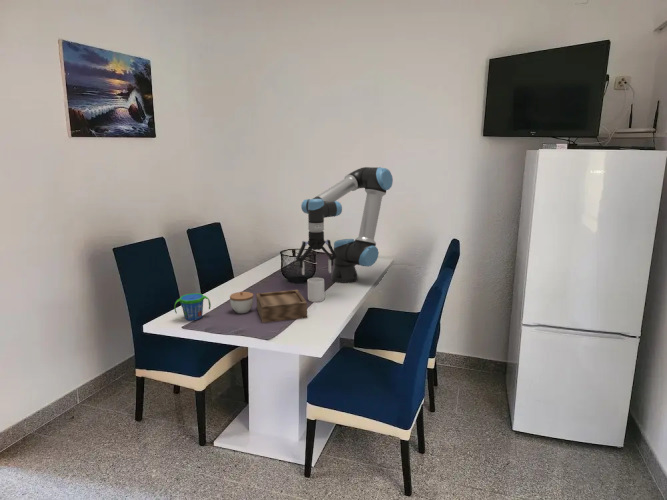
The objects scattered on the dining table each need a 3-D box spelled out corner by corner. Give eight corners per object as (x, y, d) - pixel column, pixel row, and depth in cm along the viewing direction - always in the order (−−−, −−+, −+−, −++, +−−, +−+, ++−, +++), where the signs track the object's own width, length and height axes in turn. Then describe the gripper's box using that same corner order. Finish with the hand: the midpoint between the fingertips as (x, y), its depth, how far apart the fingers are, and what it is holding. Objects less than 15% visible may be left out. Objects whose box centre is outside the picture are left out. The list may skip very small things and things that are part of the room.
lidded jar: (228, 309, 228) (227, 290, 226) (250, 306, 232) (249, 287, 230) (233, 316, 219) (232, 296, 217) (256, 312, 223) (255, 293, 221)
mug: (314, 294, 249) (314, 275, 247) (329, 295, 246) (329, 276, 244) (305, 301, 238) (304, 281, 236) (320, 303, 235) (320, 282, 233)
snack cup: (174, 324, 210) (172, 301, 208) (176, 316, 220) (174, 294, 218) (211, 320, 214) (209, 298, 212) (211, 312, 224) (209, 291, 222)
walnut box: (298, 303, 235) (297, 289, 233) (307, 317, 216) (306, 302, 214) (256, 308, 229) (256, 293, 228) (262, 322, 210) (261, 307, 209)
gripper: (292, 233, 228) (293, 276, 232) (342, 230, 234) (342, 273, 239) (289, 230, 235) (290, 273, 239) (338, 228, 241) (338, 269, 246)
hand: (316, 273), depth 239 cm, fingers open, 13 cm apart
